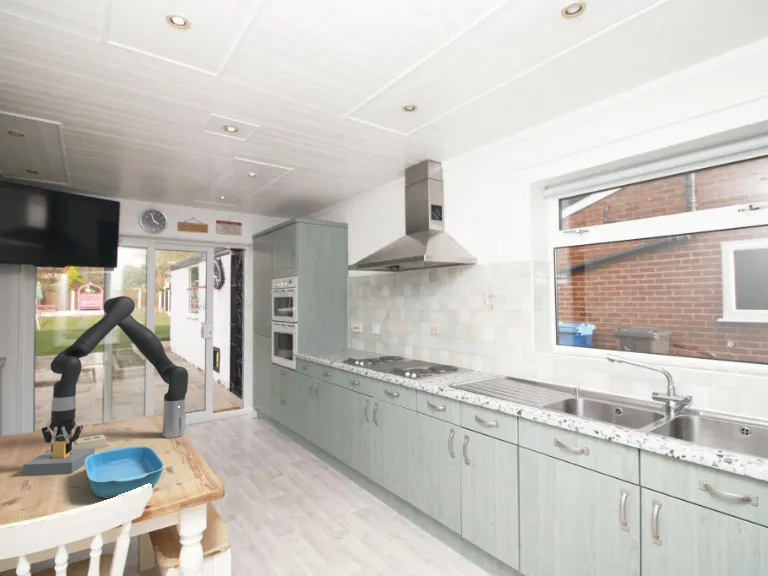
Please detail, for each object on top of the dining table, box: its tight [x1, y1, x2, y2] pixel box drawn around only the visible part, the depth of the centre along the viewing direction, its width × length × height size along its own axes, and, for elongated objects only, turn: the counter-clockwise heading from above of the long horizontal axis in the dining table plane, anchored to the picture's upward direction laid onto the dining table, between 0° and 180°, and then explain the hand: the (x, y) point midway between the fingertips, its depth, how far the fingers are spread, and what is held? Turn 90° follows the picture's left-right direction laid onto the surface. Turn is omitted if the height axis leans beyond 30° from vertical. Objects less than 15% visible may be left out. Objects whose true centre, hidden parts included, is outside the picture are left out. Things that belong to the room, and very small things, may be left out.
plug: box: [52, 435, 70, 459], centre depth 160 cm, size 4×4×8 cm
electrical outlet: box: [72, 434, 107, 449], centre depth 181 cm, size 7×4×18 cm
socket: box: [22, 448, 96, 476], centre depth 160 cm, size 16×16×4 cm
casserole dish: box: [84, 445, 165, 499], centre depth 148 cm, size 37×22×7 cm, turn 40°
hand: (61, 452), depth 160 cm, fingers closed on plug, 3 cm apart
